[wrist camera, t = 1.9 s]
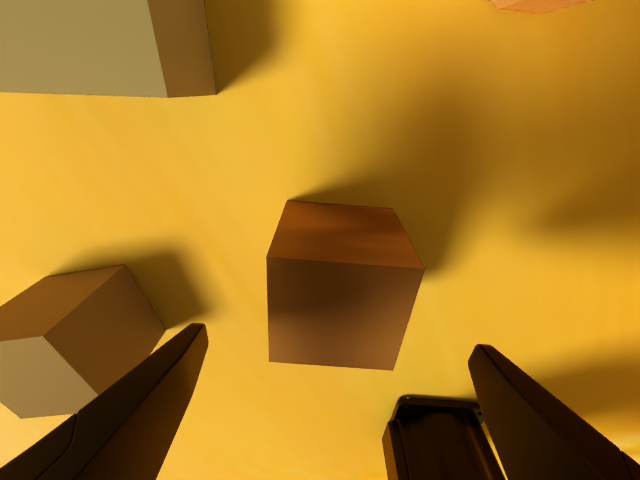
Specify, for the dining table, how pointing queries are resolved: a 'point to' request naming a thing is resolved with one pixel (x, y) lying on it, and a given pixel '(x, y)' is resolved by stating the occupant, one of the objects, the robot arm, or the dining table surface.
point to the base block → (106, 48)
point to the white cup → (535, 5)
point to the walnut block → (340, 286)
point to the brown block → (72, 340)
